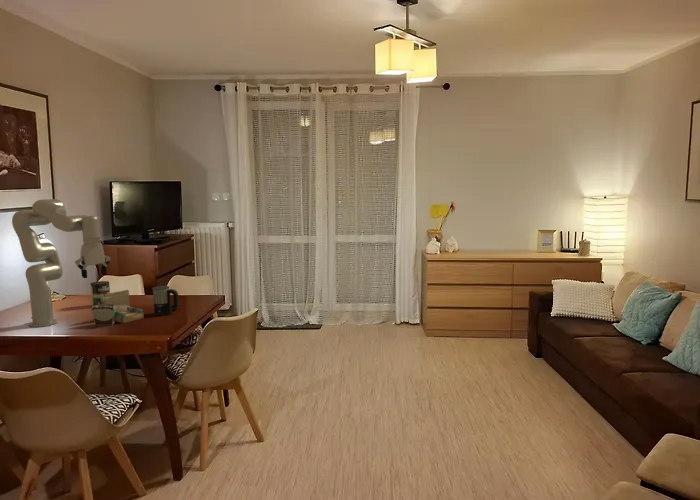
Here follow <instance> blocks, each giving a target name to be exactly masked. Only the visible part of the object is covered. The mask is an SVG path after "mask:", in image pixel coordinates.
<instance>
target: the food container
mask: <svg viewBox="0 0 700 500" xmlns="http://www.w3.org/2000/svg"><path fill="white" fill-rule="evenodd" d="M115 309H116V307H115V306H114V304H100V305H95V306H93V305H92V307H91V311H92V315H93V320H94V324H95V326H114V325H115V321H114V311H115Z"/></svg>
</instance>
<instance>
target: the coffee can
mask: <svg viewBox="0 0 700 500" xmlns="http://www.w3.org/2000/svg"><path fill="white" fill-rule="evenodd" d="M110 289H111V288H110V281H108V280H102V281H101V280H100V281H99V280H98V281H94V282H90V290H91V291H90V292H91V303H92V306H95V305H100V304H104V296H103V294H108V293H111V290H110Z"/></svg>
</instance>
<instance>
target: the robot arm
mask: <svg viewBox="0 0 700 500" xmlns="http://www.w3.org/2000/svg"><path fill="white" fill-rule="evenodd" d="M31 208H32V209H30V208H29V209H21V210H18V211H16V212H15V213H13V215H12V219H11V224H12V228H13V230H14V232H15V234H16V235H17V239H18V241H19V245H20V248H21V252H22V255H23V257H24V259H25V261H26V262H27V263H37V264H33V265H30V266H28V267H27V268H26V270H25V278H26V281H27V285H28V290H29V297H30V298H29V299H30V308H31V310H30V311H31V318H30V319H31V322H30V323H29V324H28V326H29V327H31V328H42V327H47V326H48V327H49V326H52V325H56V324H57V323H58V320H57V319H54V310H53V309H54V308H53V298H52V297H53V296H52V290H51V288H50V286H49V285H48V282H51V281H56V280H58V279H61V278H62V276H63V266H62V263H61V260H60V256H59V253H58V249H57V247H56V246H55V245H54V244H53V243H50V242H40V240H39V236H38V234H37V232H36V231H35V230H34V229H33V228H31V227H34V226H35V227H39V226H46V225H49V224H52V226H53V227H54V228H55V229H58V230H60V231H63V232H67V233H69V232H71V233H72V232H82V233H81V235H82V243H83V244H81V245H80V258H78V259H76V260H75V261H74V263H75V265H76V266H77V268H79V270H81V277H82V278H83V279H88V271H87V267H88V266H95V265H100V266H101V267H100V269H101V270H100V272H101V275H102V276H106V275H107V273H108V272H107V267H108V265H109V264H110V261H111V256H109V255H105V250H104V247H103V243H102V242H103V239H104V238H102V237H101V234H100V233H101V232H100V220H99V217H98V216H97V215H85V214H84V215H83V214H82V215H79V214H78V215H67V210H66V209H65V205H64V203H63V202H62V201H61V200H60V199H56V198H53V199H52V198H48V199H47V198H46V199H38V200H35V202H33V204H32V206H31ZM101 241H102V242H101ZM39 262H45V263H39Z"/></svg>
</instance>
